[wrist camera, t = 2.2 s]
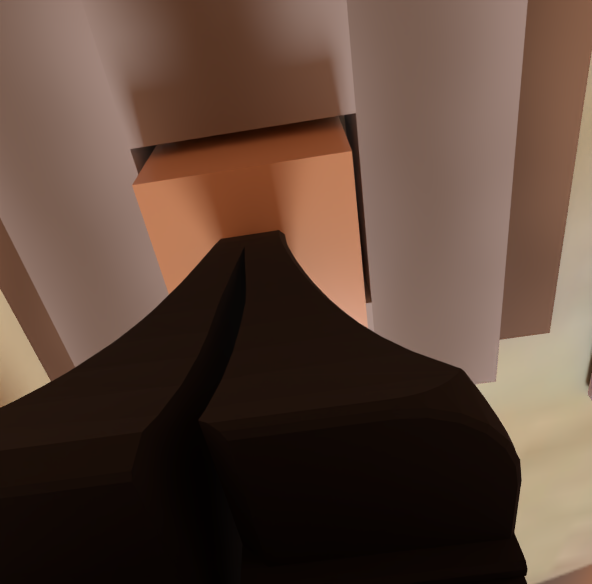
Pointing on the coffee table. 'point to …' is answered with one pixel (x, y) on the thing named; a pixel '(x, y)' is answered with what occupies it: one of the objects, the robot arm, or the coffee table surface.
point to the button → (259, 202)
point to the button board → (284, 110)
